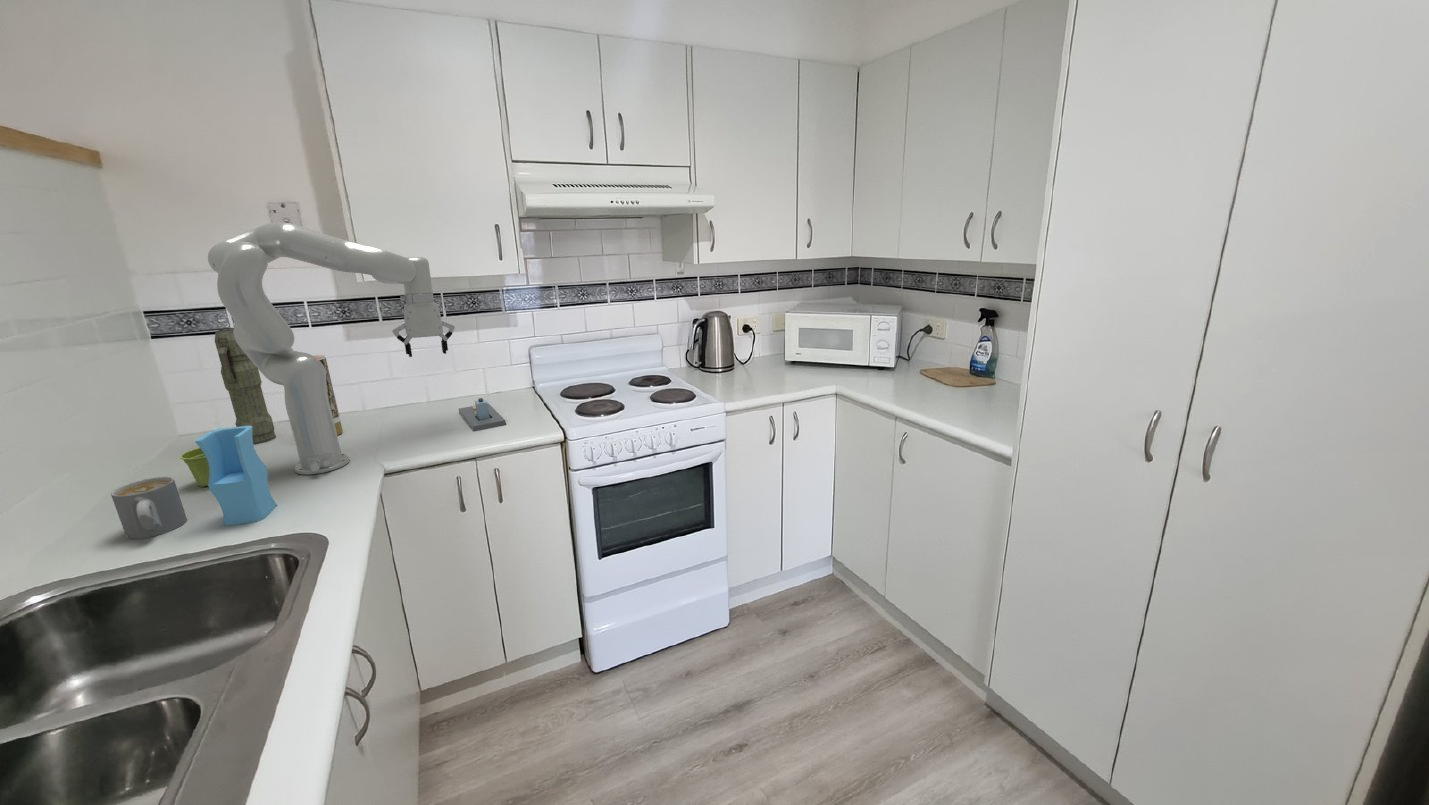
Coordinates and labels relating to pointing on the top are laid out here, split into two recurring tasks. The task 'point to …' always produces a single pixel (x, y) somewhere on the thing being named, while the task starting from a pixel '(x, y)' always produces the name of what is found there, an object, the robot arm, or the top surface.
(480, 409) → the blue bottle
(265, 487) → the blue toy armchair
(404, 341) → the robot arm
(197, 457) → the plant pot
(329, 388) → the paper tube
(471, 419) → the plate
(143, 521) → the coffee mug
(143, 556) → the top surface
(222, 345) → the olive-green tall carved figure
